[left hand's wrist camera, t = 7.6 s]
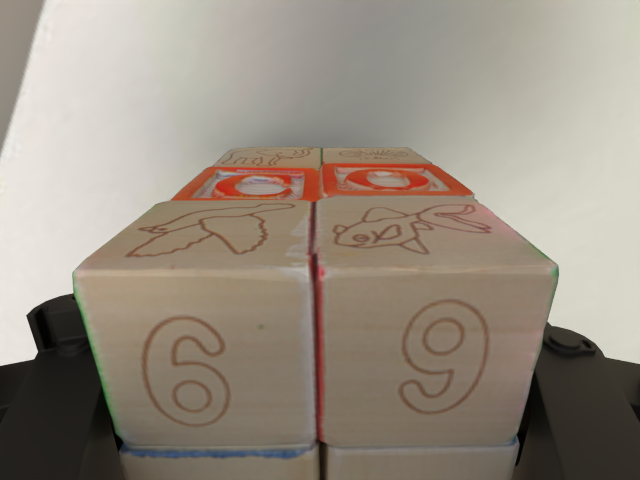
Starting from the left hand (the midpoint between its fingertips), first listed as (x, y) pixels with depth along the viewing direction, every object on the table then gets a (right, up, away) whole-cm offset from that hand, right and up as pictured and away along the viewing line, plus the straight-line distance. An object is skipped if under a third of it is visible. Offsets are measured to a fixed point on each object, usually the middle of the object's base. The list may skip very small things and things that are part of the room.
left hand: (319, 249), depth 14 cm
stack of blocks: (0, -6, +3) cm, 7 cm away
